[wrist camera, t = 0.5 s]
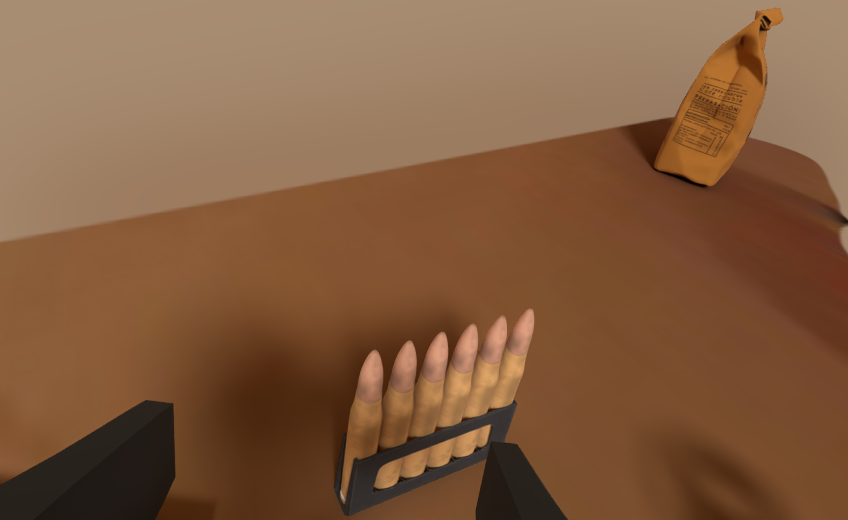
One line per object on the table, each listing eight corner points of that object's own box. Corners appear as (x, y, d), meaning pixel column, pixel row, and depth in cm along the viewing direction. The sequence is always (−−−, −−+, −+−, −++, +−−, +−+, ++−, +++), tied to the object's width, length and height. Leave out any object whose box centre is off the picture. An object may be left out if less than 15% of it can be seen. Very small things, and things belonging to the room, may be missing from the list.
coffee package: (735, 173, 80) (821, 17, 67) (711, 197, 71) (804, 24, 58) (671, 147, 84) (741, -3, 71) (642, 167, 76) (714, 1, 63)
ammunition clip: (344, 517, 29) (363, 371, 22) (333, 488, 31) (347, 341, 24) (501, 452, 34) (556, 316, 27) (485, 430, 36) (534, 293, 28)
